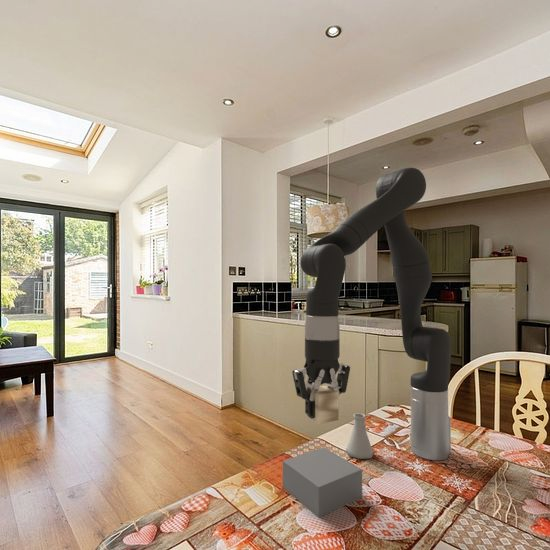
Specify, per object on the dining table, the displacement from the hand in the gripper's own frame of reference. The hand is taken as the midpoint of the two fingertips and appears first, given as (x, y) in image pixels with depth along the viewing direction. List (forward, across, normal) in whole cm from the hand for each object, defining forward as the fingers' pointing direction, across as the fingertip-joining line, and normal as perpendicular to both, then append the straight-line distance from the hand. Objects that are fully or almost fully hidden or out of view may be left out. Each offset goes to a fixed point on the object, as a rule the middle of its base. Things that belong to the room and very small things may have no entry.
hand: (321, 414), depth 75 cm
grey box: (+17, 0, 0) cm, 17 cm away
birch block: (+1, 0, 0) cm, 1 cm away
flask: (+17, -19, -10) cm, 27 cm away
